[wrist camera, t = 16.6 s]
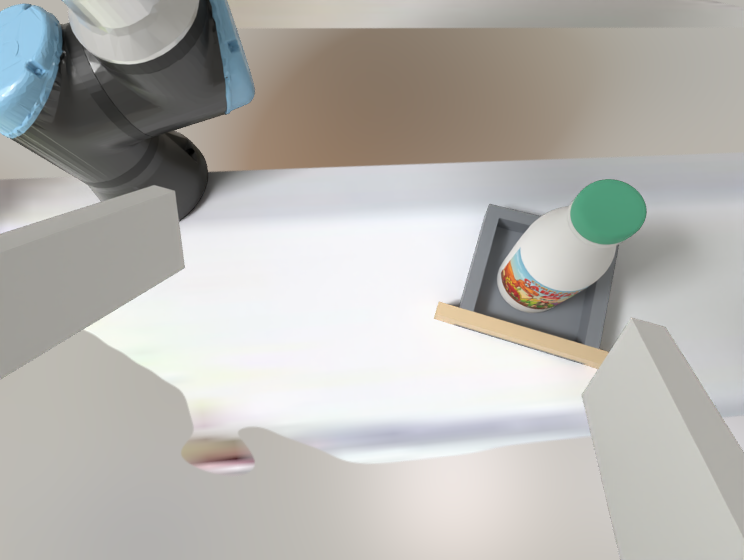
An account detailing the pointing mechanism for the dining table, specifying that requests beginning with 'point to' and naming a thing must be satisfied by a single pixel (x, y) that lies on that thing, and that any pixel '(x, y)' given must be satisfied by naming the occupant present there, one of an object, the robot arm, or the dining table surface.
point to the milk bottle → (570, 246)
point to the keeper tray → (533, 330)
